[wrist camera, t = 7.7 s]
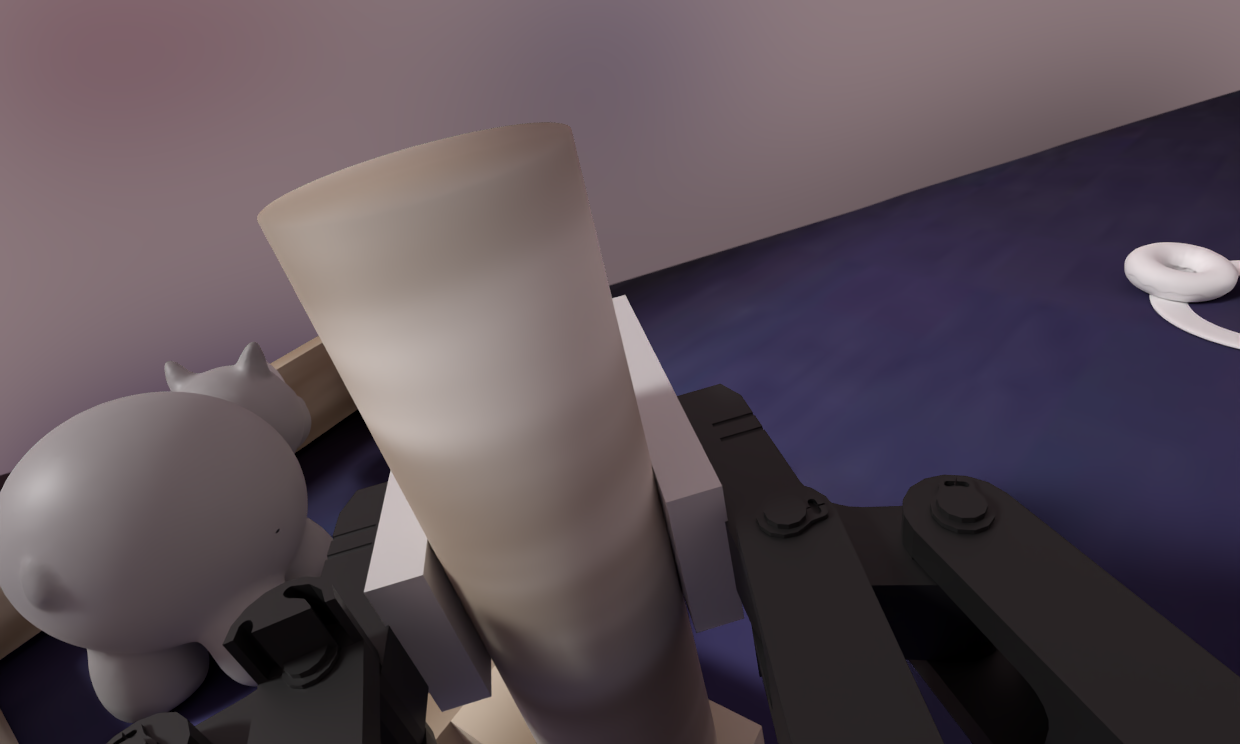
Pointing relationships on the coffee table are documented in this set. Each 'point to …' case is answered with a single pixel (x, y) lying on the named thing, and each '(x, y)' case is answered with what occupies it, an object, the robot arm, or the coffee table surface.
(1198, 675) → the robot arm
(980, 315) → the coffee table surface
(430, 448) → the pull frame
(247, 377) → the chubby cartoon animal
